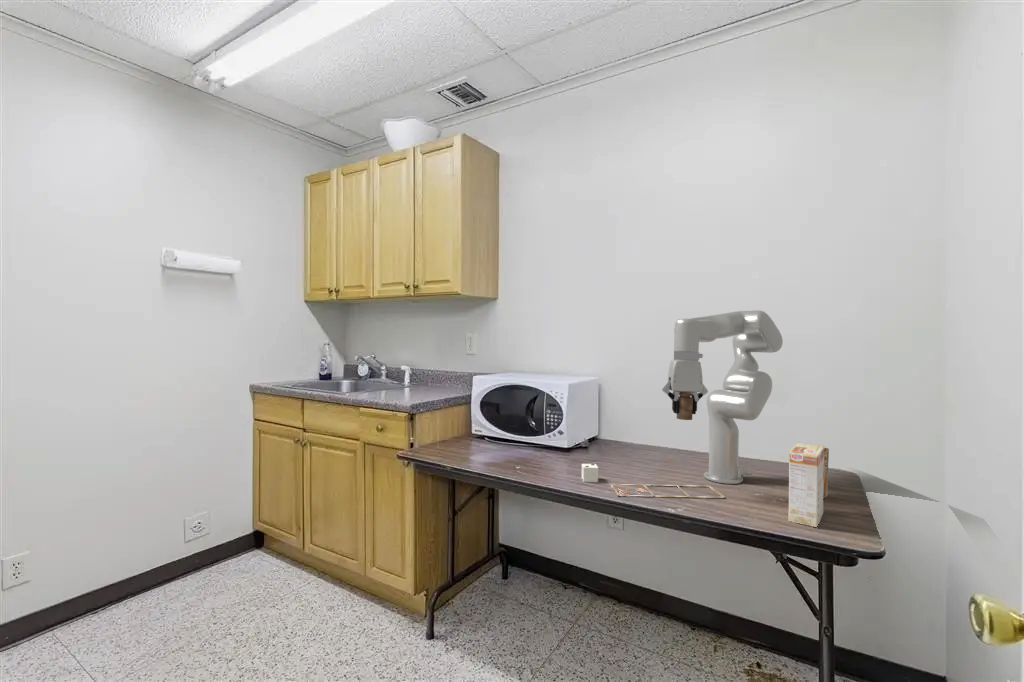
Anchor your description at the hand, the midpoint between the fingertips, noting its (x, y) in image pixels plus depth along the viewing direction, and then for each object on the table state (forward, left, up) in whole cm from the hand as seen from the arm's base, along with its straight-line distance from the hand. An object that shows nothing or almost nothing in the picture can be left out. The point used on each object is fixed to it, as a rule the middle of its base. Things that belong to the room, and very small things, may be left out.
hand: (684, 412), depth 151 cm
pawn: (0, 0, -2) cm, 2 cm away
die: (+28, -11, -26) cm, 40 cm away
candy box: (-42, +3, -26) cm, 49 cm away
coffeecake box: (-28, +20, -26) cm, 43 cm away
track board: (+5, 0, -26) cm, 26 cm away
